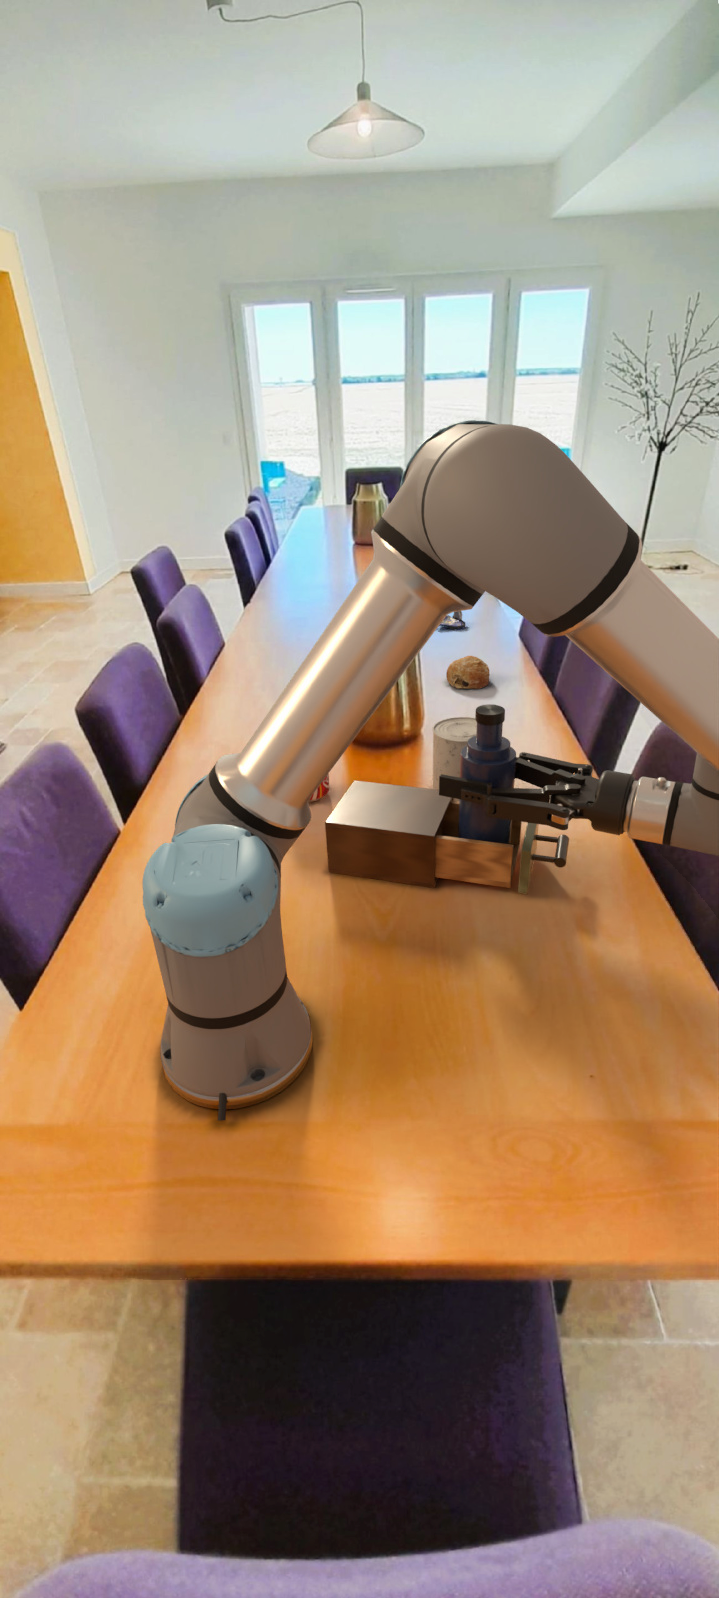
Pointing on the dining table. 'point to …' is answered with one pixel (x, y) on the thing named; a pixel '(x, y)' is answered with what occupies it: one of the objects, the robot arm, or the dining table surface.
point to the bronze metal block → (386, 832)
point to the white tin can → (450, 745)
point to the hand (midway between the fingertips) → (451, 772)
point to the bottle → (487, 775)
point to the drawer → (491, 854)
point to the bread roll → (468, 673)
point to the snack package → (454, 621)
